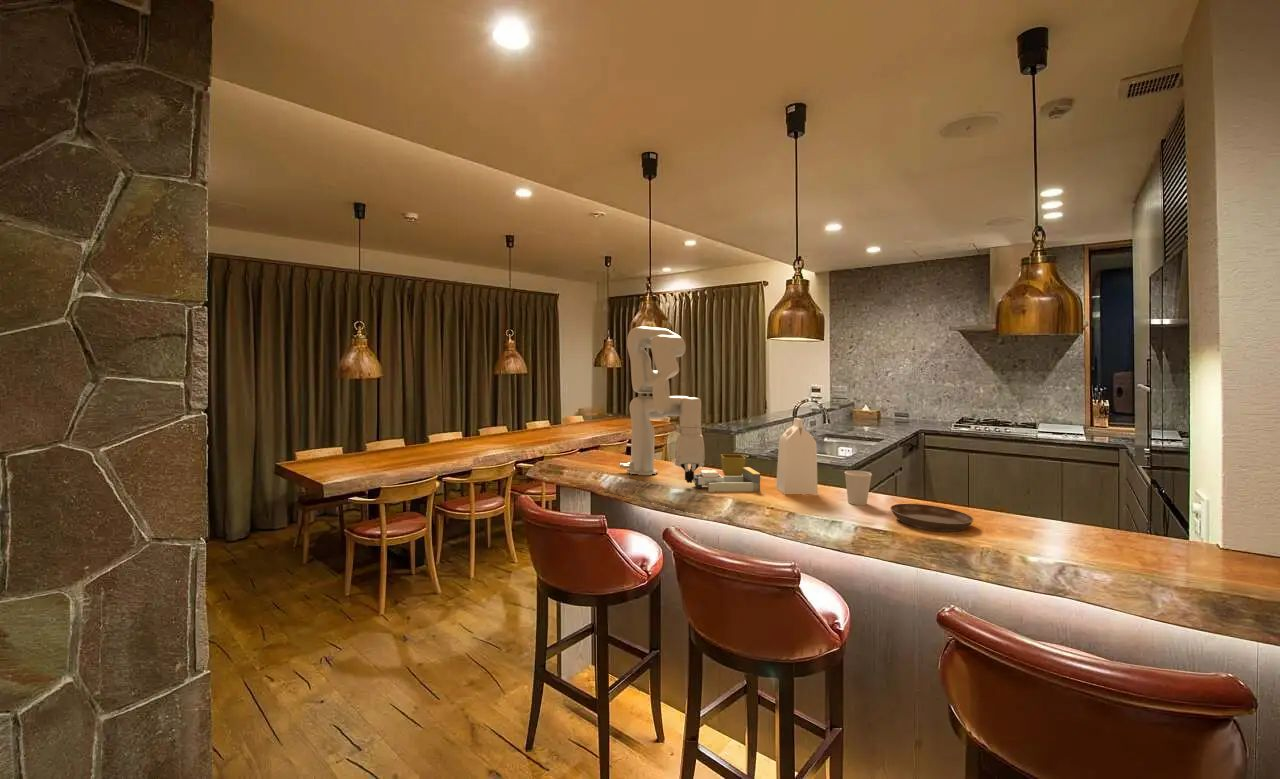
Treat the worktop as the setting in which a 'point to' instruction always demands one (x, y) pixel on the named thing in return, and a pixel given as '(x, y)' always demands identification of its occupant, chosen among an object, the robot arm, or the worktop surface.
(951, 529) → the plant saucer
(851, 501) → the dixie cup
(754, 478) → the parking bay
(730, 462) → the flower pot
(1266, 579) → the worktop surface
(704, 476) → the trolley
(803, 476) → the milk
